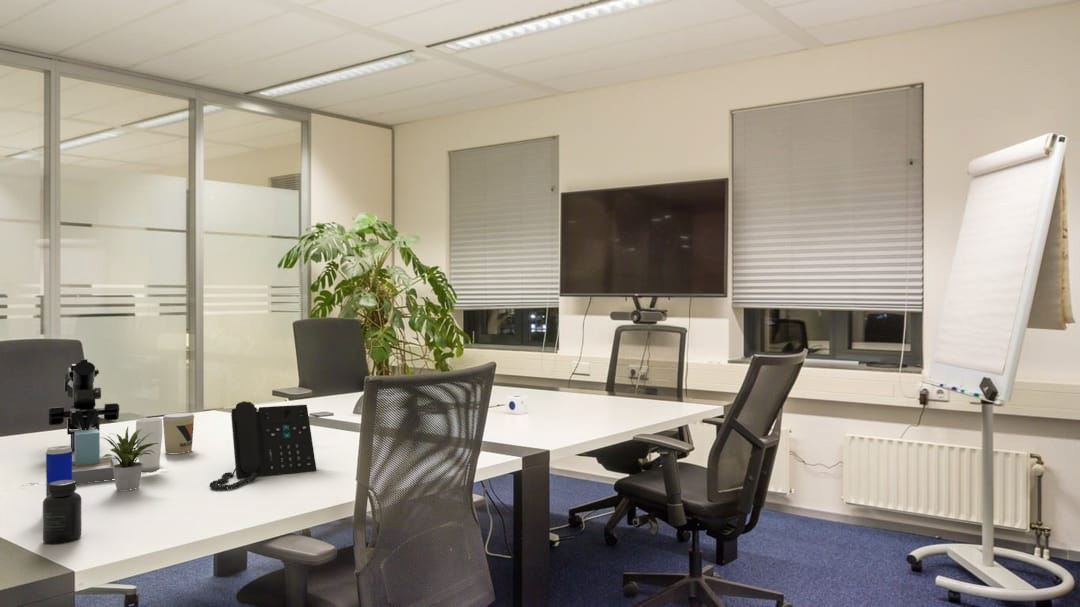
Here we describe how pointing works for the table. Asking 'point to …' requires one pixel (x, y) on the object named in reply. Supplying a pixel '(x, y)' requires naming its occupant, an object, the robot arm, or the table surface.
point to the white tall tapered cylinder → (146, 428)
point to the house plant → (128, 461)
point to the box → (94, 474)
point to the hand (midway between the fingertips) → (85, 435)
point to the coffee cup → (178, 432)
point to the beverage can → (58, 465)
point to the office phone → (269, 442)
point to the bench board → (102, 462)
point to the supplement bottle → (62, 513)
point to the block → (87, 447)
